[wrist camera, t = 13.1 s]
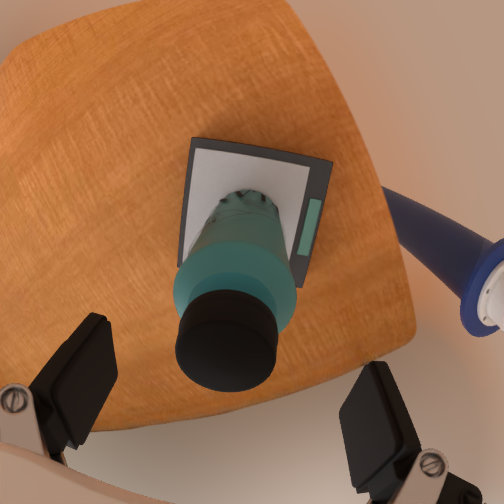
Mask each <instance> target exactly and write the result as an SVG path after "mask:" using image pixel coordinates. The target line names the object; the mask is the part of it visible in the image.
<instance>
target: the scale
mask: <svg viewBox="0 0 504 504" xmlns="http://www.w3.org/2000/svg"><path fill="white" fill-rule="evenodd" d="M332 166H333V162H331V161H328V160H324V159H319V158H315V157H311V156H306V155H301V154H297V153H292V152H287V151H282V150H277V149H271V148H266V147H260V146H255V145H249V144H242V143H236V142H229V141H222V140H215V139H207V138H199V137H192V138H191V145H190V152H189V159H188V166H187V173H186V181H185V189H184V198H183V207H182V216H181V226H180V237H179V249H178V262H177V267H178V268H180V266H181V265H182V263H183V262H184V261H185V259H186V258H187V256H188V254H189V253H190V252H189V253H188V251H191V249H192V246H193V245H194V244H195V242H196V239H198V237H199V235H200V233H201V232H202V231H200V229H201V230H202V229H203V227H204V225H205V222H206V221H207V220H206V219H208V218H209V216H210V217H211V215H212V214H211V213H213V212H214V211H212V210H215V209H214V208H215V207H216V206H217V205H218V204H219V201H220V200H221V199H223V198H224V197H226V196H227V195H229V194H230V192H231V193H232V192H233V191H234V192H235V191H236V190H237V191H238V190H241V189H242V188H244V190H249V188H251V190H255V189H256V191H258V192H259V191H260V193H261V192H262V193H263V192H264V193H263V194H264V195H265V194H266V196H267V197H268V198H270V199H271V200H272V201H273V203H274V204H275V206H278V211H279V215H280V221H281V225H282V224H283V225H284V226H283V225H282V229H283V228H284V230H283V234H284V235H285V234H286V235H285V236H286V237H285V236H284V239H285V243H286V244H285V246H286V251H287V255H288V260H289V265H290V270H291V274H292V276H293V279H294V282H295V286H296V287H298V288H302V287H303V284H304V280H305V276H306V273H307V269H308V265H309V262H310V258H311V254H312V250H313V246H314V242H315V238H316V235H317V231H318V227H319V222H320V218H321V214H322V210H323V206H324V202H325V197H326V193H327V188H328V184H329V179H330V175H331V170H332ZM242 190H243V189H242ZM228 193H229V194H228ZM269 196H270V197H269ZM274 201H275V202H274ZM217 202H218V203H217ZM202 226H203V227H202ZM201 227H202V228H201ZM199 231H200V233H199ZM284 231H285V232H284ZM198 233H199V234H198ZM193 240H194V243H193ZM191 245H192V246H191ZM190 246H191V247H190ZM188 248H190V249H188Z"/></svg>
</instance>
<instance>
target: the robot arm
mask: <svg viewBox="0 0 504 504" xmlns="http://www.w3.org/2000/svg"><path fill="white" fill-rule="evenodd" d="M477 314H478V317H479V319H480V321H481V322H482V323H483V324H484V325H486V326H494V325H498V326H499V327H500V328H501V329H502V331H503V332H504V260H503V261H502V262H500V263H499V264H498V265H497V266H496V267H495V268H494V269H493V271H492V272H491V273H490V275H489V276H488V278H487V280H486V281H485V283H484V285H483V288H482V290H481V293H480V295H479V299H478V305H477ZM117 376H118V370H117V364H116V358H115V352H114V345H113V338H112V330H111V323H110V321H107V318H106V316H104V315H100V314H97V313H93V312H91V313H90V314H89V315H88V316H87V317H86V318H85V319H84V320H83V322H82V323H81V324H80V325H79V326H78V327H77V329H76V330H75V331H74V332H73V333H72V335H71V336H70V337H69V338H68V339H67V340H66V341H65V342H64V343H63V344H62V345H61V346H60V347H59V349H58V350H57V351H56V352H55V353H54V355H53V356H52V357H51V358H50V360H49V361H48V362H47V364H46V365H45V366H44V367H43V369H42V370H41V371H40V373H39V374H38V375H37V376H36V378H35V379H34V380H33V382H32V383H31V384H30V386H29V387H26V386H25V385H23V384H20V383H11V384H8V385H6V386H4V387H3V388H2V389H1V390H0V504H174V503H169V502H165V501H161V500H157V499H153V498H149V497H147V496H143V495H139V494H136V493H133V492H130V491H127V490H124V489H121V488H118V487H115V486H113V485H110V484H107V483H105V482H102V481H99V480H97V479H94V478H92V477H89V476H87V475H84V474H82V473H80V472H77V471H75V470H73V469H71V468H68V466H67V463H66V460H65V457H64V454H63V451H64V449H65V447H66V446H68V447H71V448H73V449H75V450H77V448H78V446H79V445H83V444H84V443H85V441H86V439H87V437H88V435H89V432H90V430H91V428H92V426H93V424H94V422H95V420H96V418H97V416H98V414H99V412H100V411H101V409H102V407H103V405H104V403H105V401H106V399H107V397H108V395H109V393H110V391H111V389H112V387H113V386H114V384H115V382H116V380H117ZM339 419H340V424H341V429H342V434H343V438H344V444H345V449H346V454H347V460H348V465H349V471H350V476H351V482H352V486H353V487H354V488H356V491H357V493H358V494H359V493H366V492H369V494H370V499H369V501H368V502H367V504H482V494H481V491H480V490H479V489H478V488H477V487H476V486H474V485H473V484H471V483H468V482H467V481H465V480H463V479H461V478H459V477H457V476H455V475H454V474H452V473H450V472H448V468H449V465H448V461H447V459H446V457H445V456H444V455H443V453H441V452H440V451H438V450H435V449H425V450H423V451H422V449H421V444H420V441H419V438H418V436H417V433H416V431H415V428H414V426H413V423H412V420H411V418H410V415H409V413H408V411H407V408H406V406H405V403H404V401H403V399H402V396H401V394H400V392H399V389H398V387H397V385H396V382H395V380H394V378H393V375H392V373H391V371H390V369H389V366H388V364H387V363H386V362H384V361H371V362H369V364H366V365H365V366H364V368H363V370H362V371H361V374H360V375H359V377H358V379H357V381H356V383H355V384H354V386H353V388H352V390H351V392H350V393H349V395H348V397H347V398H346V400H345V402H344V403H343V405H342V407H341V408H340V411H339ZM484 504H486V503H484Z"/></svg>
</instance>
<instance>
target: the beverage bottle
mask: <svg viewBox="0 0 504 504" xmlns="http://www.w3.org/2000/svg"><path fill="white" fill-rule="evenodd" d="M242 189H243V190H242ZM242 189H241V190H238V191H237V190H236V191H235V192H234V191H233V192H232V193H231V192H230V194H229V193H228V194H229V195H227V196H226V197H224V198H223V199H221V200H220V201H219V204H218V205H217V206H216V207H215V208H214V209H215V210H212V211H214V212H213V213H211V214H212V215H211V217H210V216H209V218H208V219H206V220H207V221H206V222H205V225H204V227H203V226H202V227H203V229H202V230H201V229H200V231H202V232H201V233H200V231H199V233H200V235H199V237H198V239H196V242H195V244H194V245H193V246H192V245H191V246H192V249H191V251H188V253H189V252H190V253H189V254H188V256H187V258H186V259H185V261H184V262H183V263H182V265H181V266H180V268H179V270H178V272H177V274H176V277H175V280H174V286H173V297H174V303H175V307H176V310H177V312H178V314H179V316H180V318H181V320H180V324H179V332H178V336H177V340H176V345H175V353H176V359H177V362H178V365H179V366H180V368H181V370H182V371H183V372H184V373H185V374H186V376H187V377H189V378H190V379H191V380H192V381H194V382H195V383H197V384H199V385H201V386H203V387H205V388H208V389H211V390H215V391H220V392H240V391H245V390H249V389H252V388H254V387H256V386H258V385H260V384H261V383H263V382H264V381H265V380H266V379H267V378H268V377H269V376H270V374H271V373H272V371H273V369H274V366H275V363H276V352H277V344H278V334H279V333H280V332H281V331H282V330H283V329H284V328H285V327H286V326H287V324H288V323H289V321H290V319H291V318H292V316H293V313H294V310H295V307H296V300H297V293H296V286H295V282H294V279H293V276H292V274H291V270H290V265H289V260H288V255H287V251H286V246H285V244H286V243H285V239H284V236H285V235H286V234H285V235H284V234H283V230H284V228H283V229H282V225H283V224H282V225H281V221H280V215H279V211H278V206H275V204H274V203H273V201H272V200H271V199H270V198H268V197H267V196H266V194H265V195H264V194H263V193H264V192H263V193H262V192H261V193H260V191H259V192H258V191H256V189H255V190H251V188H249V190H244V188H242ZM269 197H270V196H269ZM274 202H275V201H274ZM217 203H218V202H217ZM283 226H284V225H283ZM202 227H201V228H202ZM284 232H285V231H284ZM199 233H198V234H199ZM285 237H286V236H285ZM193 243H194V240H193ZM191 246H190V247H191ZM188 249H190V248H188Z"/></svg>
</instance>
